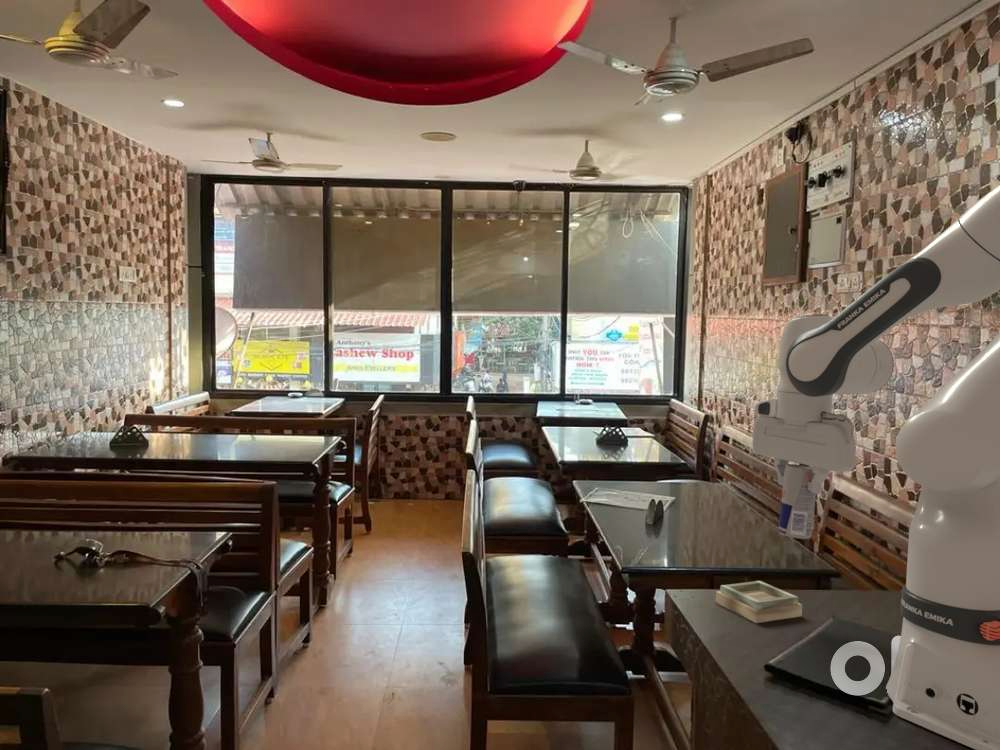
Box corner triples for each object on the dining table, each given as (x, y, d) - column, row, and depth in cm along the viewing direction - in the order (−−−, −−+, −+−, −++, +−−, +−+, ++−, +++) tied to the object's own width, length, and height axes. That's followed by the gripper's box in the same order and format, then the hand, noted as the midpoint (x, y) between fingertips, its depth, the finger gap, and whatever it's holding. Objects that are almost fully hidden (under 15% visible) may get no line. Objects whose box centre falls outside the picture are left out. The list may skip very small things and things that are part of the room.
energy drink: (784, 529, 127) (791, 463, 127) (815, 536, 124) (822, 468, 124) (773, 533, 123) (780, 464, 123) (805, 541, 120) (813, 470, 119)
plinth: (801, 616, 121) (802, 597, 121) (756, 623, 117) (757, 604, 117) (759, 596, 130) (760, 579, 130) (715, 602, 127) (716, 584, 126)
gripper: (868, 415, 114) (862, 501, 115) (775, 404, 133) (771, 477, 134) (838, 415, 112) (833, 502, 112) (748, 404, 131) (744, 478, 131)
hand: (798, 488), depth 123 cm, fingers closed on energy drink, 5 cm apart
